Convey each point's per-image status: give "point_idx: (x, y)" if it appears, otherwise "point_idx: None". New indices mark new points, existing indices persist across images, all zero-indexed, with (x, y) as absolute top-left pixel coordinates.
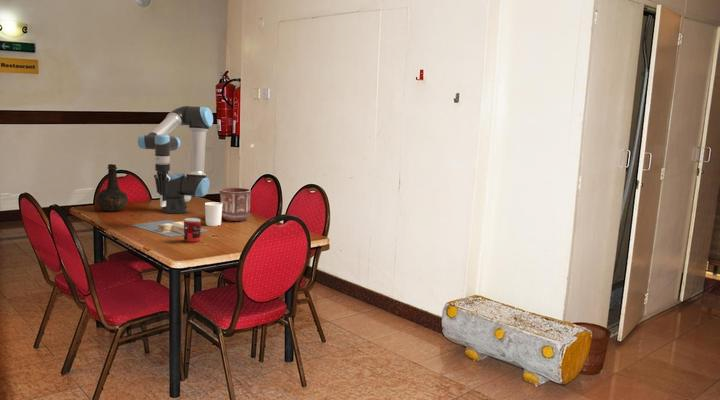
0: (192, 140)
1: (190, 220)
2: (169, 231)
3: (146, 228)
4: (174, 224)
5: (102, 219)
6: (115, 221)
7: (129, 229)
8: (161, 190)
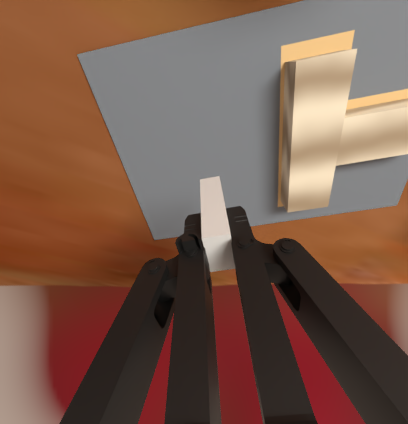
0: None
1: None
2: None
3: None
4: (333, 156)
5: (34, 270)
6: (73, 253)
7: None
8: (210, 299)
